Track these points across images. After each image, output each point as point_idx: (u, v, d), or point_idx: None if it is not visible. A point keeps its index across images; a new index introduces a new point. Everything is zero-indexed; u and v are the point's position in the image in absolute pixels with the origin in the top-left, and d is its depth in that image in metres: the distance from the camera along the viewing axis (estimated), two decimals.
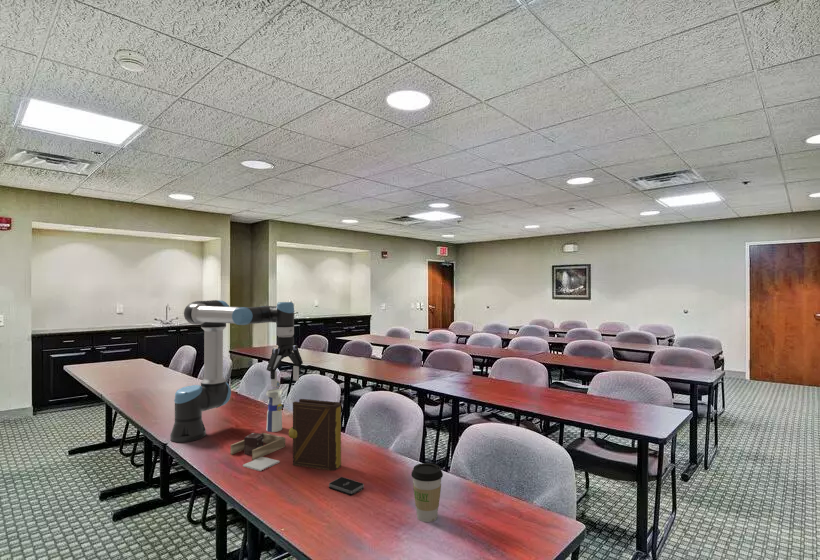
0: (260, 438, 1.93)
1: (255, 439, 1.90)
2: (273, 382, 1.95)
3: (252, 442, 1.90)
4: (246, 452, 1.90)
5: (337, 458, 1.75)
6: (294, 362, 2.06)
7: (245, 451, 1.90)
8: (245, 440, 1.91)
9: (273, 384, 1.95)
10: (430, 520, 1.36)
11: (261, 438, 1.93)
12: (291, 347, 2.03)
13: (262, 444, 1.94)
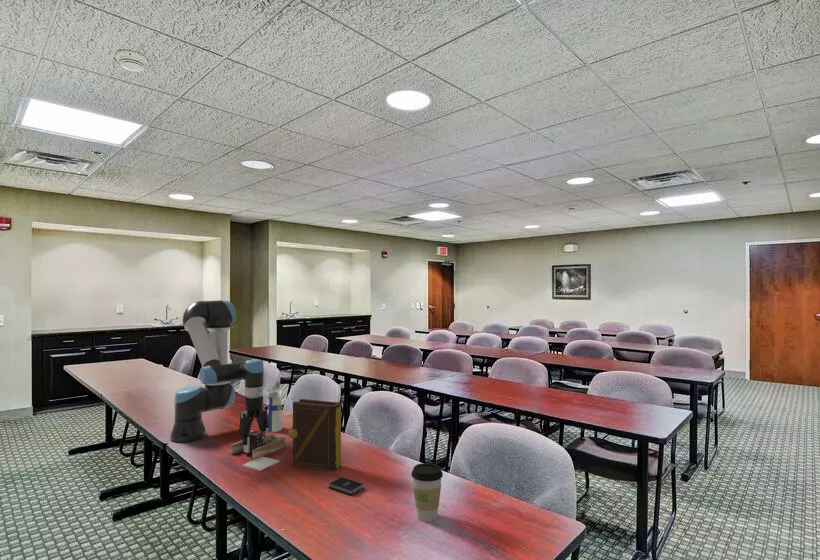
0: (260, 435, 1.93)
1: (255, 436, 1.90)
2: (246, 448, 1.89)
3: (252, 439, 1.90)
4: None
5: (337, 458, 1.75)
6: (260, 425, 1.96)
7: None
8: None
9: (245, 450, 1.89)
10: (430, 520, 1.36)
11: (261, 435, 1.93)
12: (260, 406, 1.95)
13: (262, 441, 1.94)
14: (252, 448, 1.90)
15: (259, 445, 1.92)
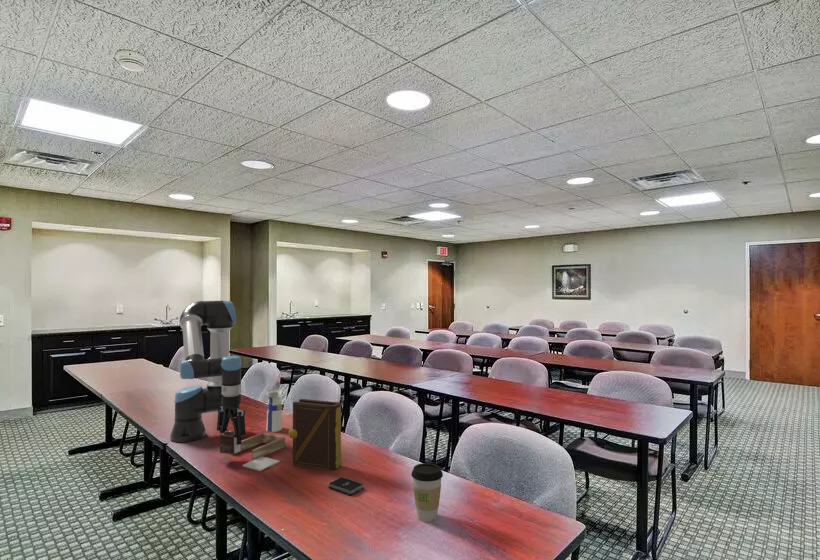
0: None
1: (231, 437, 1.79)
2: None
3: (228, 440, 1.80)
4: (222, 451, 1.80)
5: (337, 458, 1.75)
6: None
7: (221, 450, 1.80)
8: (221, 438, 1.80)
9: None
10: (430, 520, 1.36)
11: None
12: (233, 408, 1.80)
13: None
14: (228, 450, 1.80)
15: None
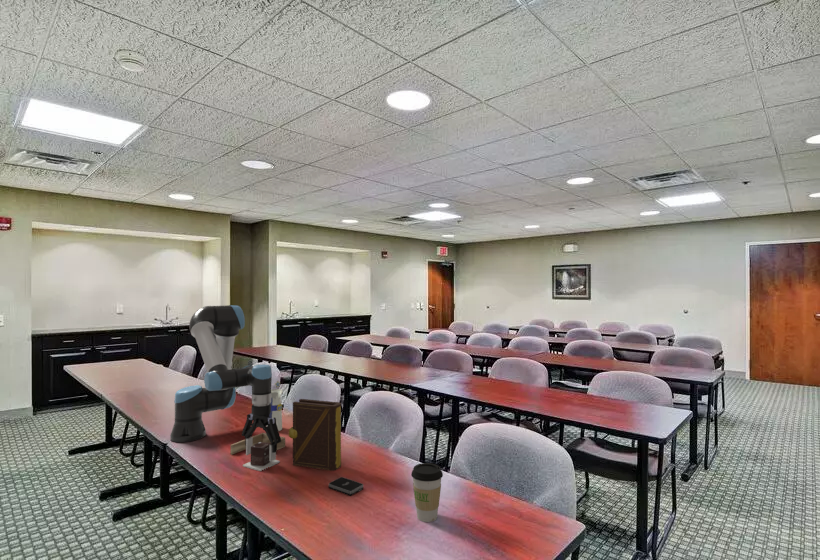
0: (268, 447, 1.79)
1: (262, 449, 1.76)
2: None
3: (259, 452, 1.76)
4: (253, 463, 1.77)
5: (337, 458, 1.75)
6: None
7: (251, 462, 1.77)
8: (251, 450, 1.77)
9: None
10: (430, 520, 1.36)
11: (268, 447, 1.80)
12: (263, 418, 1.78)
13: None
14: (259, 461, 1.76)
15: (267, 458, 1.78)
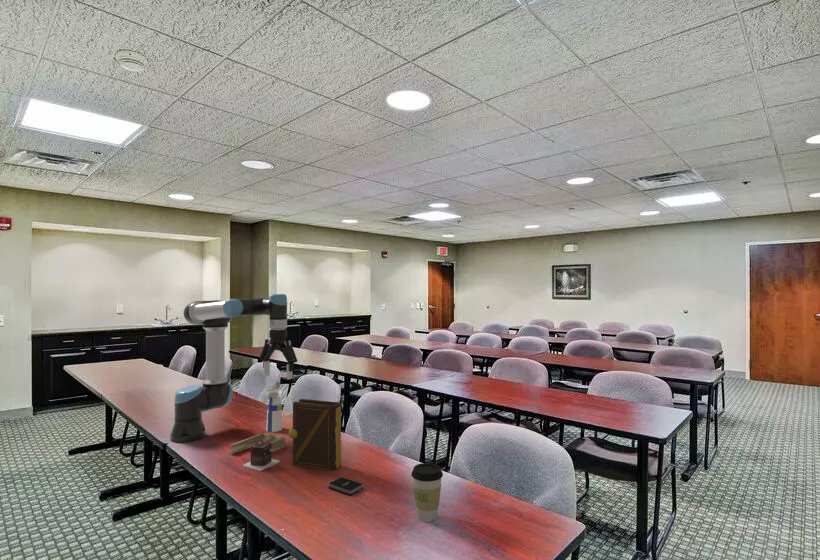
0: (268, 447, 1.79)
1: (262, 449, 1.76)
2: None
3: (259, 452, 1.76)
4: (253, 463, 1.77)
5: (337, 458, 1.75)
6: None
7: (251, 462, 1.77)
8: (251, 450, 1.77)
9: None
10: (430, 520, 1.36)
11: (268, 447, 1.80)
12: (280, 341, 1.94)
13: (270, 454, 1.81)
14: (259, 461, 1.76)
15: (267, 458, 1.78)
